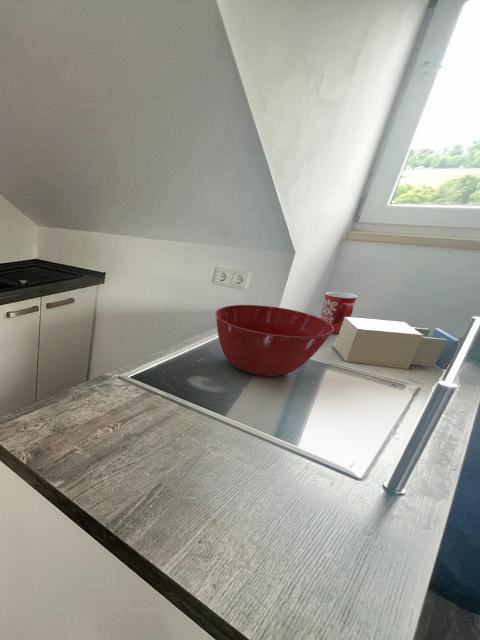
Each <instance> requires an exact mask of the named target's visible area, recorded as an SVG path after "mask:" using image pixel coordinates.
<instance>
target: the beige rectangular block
mask: <svg viewBox="0 0 480 640" xmlns="http://www.w3.org/2000/svg"><path fill="white" fill-rule="evenodd" d="M414 328H415V327H414ZM414 328H412V326H411V325H410V324H408V323H407V322H405V321H398V320H388V319H387V320H385V319H374V318H362V317H352V316H350V317H345V318H344V321H343V324H342V326H341V329H340V332H339V333H338V335H337V338H336V341H335V344H334V349H335V350H336V352H337V353H338V354H339V355H340V356H341V357H342V359H343V360H344V361H345V362H347V363H348V362H349V363H357V364H364V365H373V366H374V365H375V366H383V367H389V368H397V369H406V370H409V368H410V366H411V365H412V364H411V362H412V360H413V358H414V355H415V353H416V351H417V349H418V346H419V344H420V342H421V340H422V337H423V334H421V333H420V332H418V331H417V330H415V329H414Z"/></svg>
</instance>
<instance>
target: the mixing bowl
mask: <svg viewBox="0 0 480 640" xmlns="http://www.w3.org/2000/svg"><path fill="white" fill-rule="evenodd" d="M214 314H215V315H214V316H215V320H216V327H217V329H216V330H217V335H218V341H219V344H220V347H221V350H222V353H223V355H224V357H225V358H226V359H227V361H228V362H229V363H230V364H231V365H233V366H234V367H235V368H237V370H240V371H242V372H245V373H248V374H251V375H255V376H261V377H279V376H283V375H287V374H289V373H292V372H296V370H298V369H299V368H301V367H302V366H303V365H304V364H306V363H307V362H308V361H309V360H310V359H311V358H312V357H313V356H314V355H315V354H316V353H317V352H318V351H319V350H320V348H321V347H322V346H323V344H324V343H325V342H326V341H327V339H328V338H329V336H330V335H331V334H333V333H332V332H333V331H334V327H333V326H332V325H331V324H330V323H329V322H327V321H325V320H323V319H321V318H320V317H319V316H316V315H313V314H311V313H310V314H309V313H306V312H303V311H298V310H296V309H295V310H294V309H289V308H283V307H277V306H269V305H258V304H234V305H233V304H232V305H227V306H223V307H220V308H218V309H216V311H215V313H214Z"/></svg>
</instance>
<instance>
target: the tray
mask: <svg viewBox="0 0 480 640" xmlns="http://www.w3.org/2000/svg"><path fill="white" fill-rule="evenodd" d="M411 327H412V326H411ZM412 328H414V329H415V330H417V331H418V332H420V333H421V334H423V337H422V340H421V342H420V344H419V346H418V349H417V351H416V353H415V355H414V358H413V360H412V362H411V364H410V365H417V366H425V367H435V366H437V368H439V369H440V370H445V371H447V370H448V369H447V367H448V365H449V364H450V365H451V362H452V360H453V359H454V356H455V354H456V353H457V352H456V350H457V347H458V340H459V339H458V338H456V337H455V336H453V335H452V334H450V333H448V332H446V331H444V330H443V329H442V328H440V327H434V329H433V330H432V332H431V329H430V328H423V327H412ZM430 332H431V335H430ZM429 335H430V336H429ZM428 336H429V337H428ZM469 350H470V351H469V353H468V354H467V355H470V354H471V353H472V350H471V349H469ZM450 365H449V366H450ZM448 368H449V367H448ZM446 369H447V370H446Z"/></svg>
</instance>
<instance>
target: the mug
mask: <svg viewBox="0 0 480 640" xmlns="http://www.w3.org/2000/svg"><path fill="white" fill-rule="evenodd" d="M324 296H325V297H324V300H323V304H322V309H321V313H320V317H319V318H321V319H323V320H325V321H327V322H329V323H330V324H331V325H332V326H333V327H334V331H333V332H332V333H331V334H339V332H340V329H341V326H342V324H343V321H344V318H345V317H352V314H353V311H354V305H355V303H356V301H357V299H358V297H359V296H358V295H357V294H353V293H348V292H343V291H342V292H340V291H328V292H325V294H324Z"/></svg>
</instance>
